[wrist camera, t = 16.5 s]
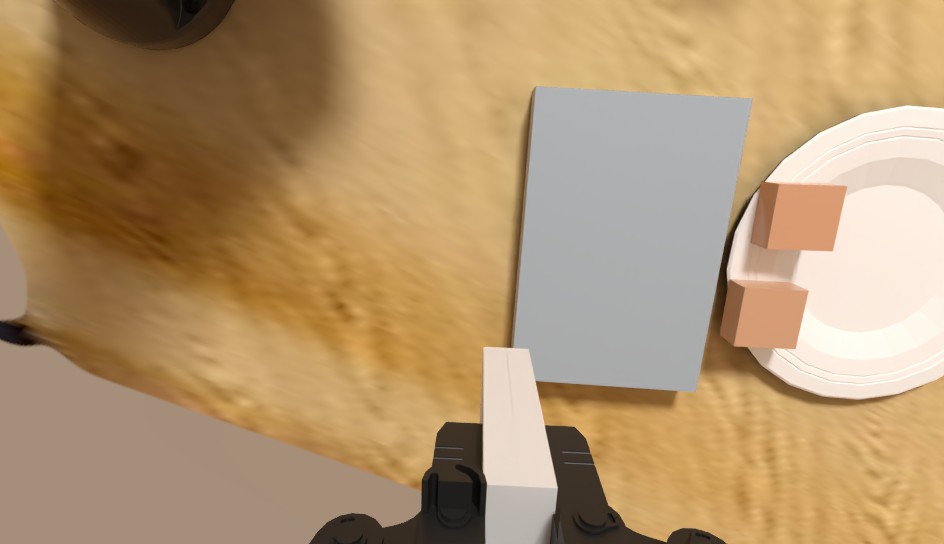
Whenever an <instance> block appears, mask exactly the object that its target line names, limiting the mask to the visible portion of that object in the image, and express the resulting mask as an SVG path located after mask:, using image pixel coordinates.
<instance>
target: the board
mask: <svg viewBox="0 0 944 544" xmlns="http://www.w3.org/2000/svg"><path fill="white" fill-rule="evenodd" d="M752 101H753V99H749V98H732V97H714V96H697V95H680V94H662V93H645V92H627V91H610V90H593V89H575V88H558V87H541V86H536V87H535V88H534V90H533V92H532V104H531V115H530V127H529V139H528V151H527V163H526V174H525V186H524V198H523V210H522V222H521V233H520V245H519V257H518V269H517V281H516V292H515V304H514V316H513V328H512V340H511V348H520V349H529V353H530V358H531V362H532V367H533V372H534V377H535V381H543V382H557V383H571V384H585V385H600V386H614V387H628V388H642V389H657V390H671V391H685V392H696V389H697V384H698V379H699V373H700V368H701V363H702V358H703V353H704V348H705V343H706V337H707V332H708V327H709V322H710V317H711V312H712V307H713V301H714V296H715V291H716V286H717V281H718V276H719V270H720V265H721V260H722V255H723V250H724V245H725V240H726V234H727V229H728V224H729V219H730V214H731V209H732V204H733V198H734V193H735V188H736V183H737V178H738V173H739V168H740V162H741V157H742V152H743V147H744V142H745V137H746V132H747V126H748V121H749V116H750V111H751V106H752Z"/></svg>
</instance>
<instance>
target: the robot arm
mask: <svg viewBox="0 0 944 544" xmlns="http://www.w3.org/2000/svg"><path fill="white" fill-rule="evenodd" d="M53 1H54V2H56V3H57V4H58V5H60V6H61V7H62V8H64V9H65V10H66V11H68V12H69V13H70V14H71V15H73V16H74V17H75V18H76V19H78V20H79V21H80V22H82V23H83V24H85V25H86V26H88V27H89V28H91V29H93V30H94V31H96V32H98V33H100V34H102V35H104V36H107V37H109V38H111V39H114V40H117V41H120V42H124V43H127V44H131V45H134V46H138V47H142V48H147V49H156V50H165V49H174V48H179V47H183V46H186V45H189V44H191V43H193V42H196V41H197V40H199V39H201V38H203V37H204V36H206V35H207V34H208V33H209V32H211V31H212V30H213V29H214V28H215V27H216V26H217V25H218V24H219V23H220V22H221V21H222V19H223V18H224V16H225V15H226V14H227V12H228V10H229V9H230V7H231V5H232V3H233V1H234V0H53ZM309 544H726V543H725V542H724V541H723V540H721V539H719V538H718V537H716V536H714V535H712V534H710V533H708V532H705V531H701V530H698V529H691V528H682V529H679V530H677V531H674V532H672V534H671V535H670V537H669V538H668V540H667V542H663V541H660V540H657V539H653V538H650V537H647V536H644V535H641V534H639V533H636V532H634V531H632V530H631V529H629V528H627V527H626V526H625V524H624V522H623V520H622V519H621V517H620V515H619V514H618V513H617V512H616V511H615V510H613V509H612V508H611V507H610V506H608V503H607V500H606V497H605V494H604V491H603V488H602V485H601V482H600V479H599V476H598V473H597V470H596V468H595V465H594V462H593V459H592V456H591V454H590V450H589V447H588V444H587V441H586V438H585V437H584V436H583V435H582V434H581V433H580V432H579V431H578V430H577V429H576V428H575V427H568V426H547V425H544V420H543V415H542V411H541V406H540V401H539V396H538V391H537V386H536V382H535V377H534V372H533V367H532V362H531V358H530V353H529V349H520V348H499V347H484V349H483V369H482V389H481V409H480V424H477V423H456V422H446V423H445V424H444V425H443V427H442V428H441V429H440V430H439V431H438V433H437V437H436V444H435V450H434V457H433V463H432V467H431V468H430V469H428V470H427V471H426V472H425V474H424V476H423V479H422V507H421V511H420V512H419V513H418V514H417V515H416V516H415V517H414V518H412V519H410V520H408V521H406V522H404V523H401V524H398V525H394V526H390V527H385V528H382V526H381V525H380V524H379V523H378V522H377V521H376V519H374V518H372V517H370V516H368V515H365V514H355V513H351V514H347V515H342V516H339V517H337V518H335V519H333V520H331V521H329V522H327V523H326V524H325V525H324V526H323V527H322V528H321V529H320V530H319V531H318V532H317V534H316V535H315V536H314V538H313V539H312V541H311V542H310V543H309Z"/></svg>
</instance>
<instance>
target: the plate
mask: <svg viewBox="0 0 944 544" xmlns="http://www.w3.org/2000/svg"><path fill="white" fill-rule="evenodd" d="M764 182H793V183H824V184H834V185H843V186H847V190H846V194H845V199H844V203H843V208H842V212H841V217H840V221H839V226H838V230H837V235H836V239H835V244H834V249H833V251H806V250H779V249H765V248H763V247H760V246H757V245H755V244H752V243H750V242H751V236H752V231H753V225H754V219H755V214H756V208H757V202H758V197H759V191H760V187H759V188H758V189H757V190H756V192H755V193H754V194H753V196H752V198H751V200H750V202H749V204H748V205H747V207H746V209H745V211H744V213H743V215H742V217H741V219H740V221H739V223H738V225H737V227H736V229H735V231H734V235H733V240H732V244H731V249H730V253H729V258H728V262H727V267H726V279H727V291H728V286H729V280H730V279H733V280H755V281H776V282H790V283H793V284H795V285H797V286H799V287H802V288H804V289H806V290H808V291H809V292H808V296H807V301H806V305H805V310H804V314H803V319H802V323H801V327H800V332H799V336H798V341H797V345H796V349H779V348H758V347H747V348H748V349H749V350H750V352H751V353H752V354H753V356H754V357H755V358H756V359H757V361H758V362H759V363H760V364H761V365H762V366H763V367H764V368H766V369H767V370H769V371H770V372H771V373H773V374H774V375H776V376H777V377H779V378H780V379H781V380H783V381H784V382H786V383H787V384H788V385H791V386H794V387H797V388H799V389H802V390H805V391H808V392H811V393H814V394H816V395H819V396H823V397H834V398H845V399H856V400H860V399H867V398H875V397H882V396H889V395H897V394H900V393H902V392H905V391H908V390H911V389H913V388H916V387H919V386H922V385H924V384H927V383H930V382H933V381H935V380H937V379H939V378H940V377H942V376H943V375H944V109H943V108H930V107H918V106H902V107H897V108H891V109H886V110H880V111H875V112H869V113H864V114H860V115H857V116H855V117H853V118H851V119H848V120H846V121H844V122H842V123H839V124H837V125H835V126H833V127H830V128H828V129H826V130H824V131H822V132H819V133H818V134H816V135H815V136H814V137H812V138H811V139H810V140H808V141H807V142H806V143H804V144H803V145H802V146H800V147H799V148H798V149H796V150H795V151H794V152H792V153H791V154H790V155H788V156H787V157H786V158H784V159H783V160H782V161H781V162H780V163H779V164H778V165H777V167H776V168H775V169H774V170H773V171H772V173H771V174H770V175H769V176H768V177H767V179H766V180H765V181H764Z"/></svg>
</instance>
